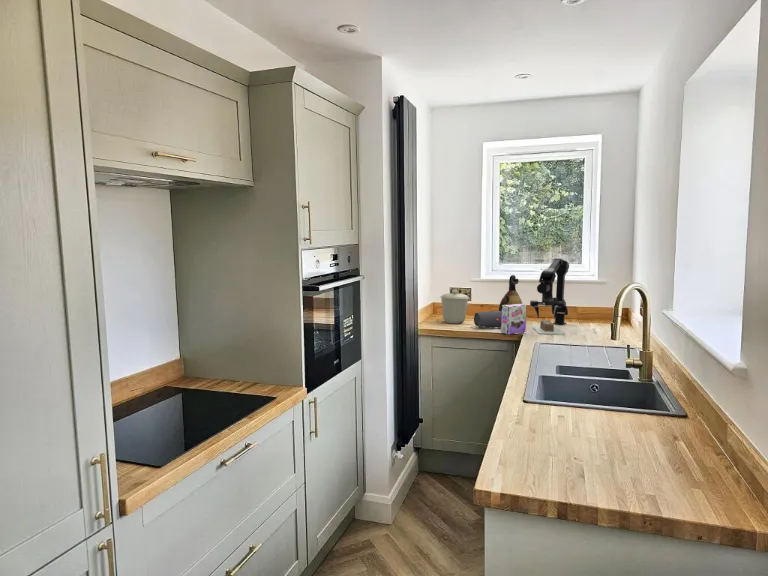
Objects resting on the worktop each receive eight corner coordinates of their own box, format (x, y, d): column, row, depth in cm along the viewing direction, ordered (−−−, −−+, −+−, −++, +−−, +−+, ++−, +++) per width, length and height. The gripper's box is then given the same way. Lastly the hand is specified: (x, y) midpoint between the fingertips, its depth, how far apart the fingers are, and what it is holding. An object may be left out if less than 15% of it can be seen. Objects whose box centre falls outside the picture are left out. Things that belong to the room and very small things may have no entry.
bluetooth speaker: (479, 329, 312) (480, 313, 311) (473, 326, 321) (473, 310, 320) (514, 328, 319) (514, 311, 318) (506, 325, 328) (506, 309, 326)
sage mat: (532, 327, 322) (532, 325, 322) (555, 327, 321) (555, 326, 321) (538, 334, 300) (538, 332, 300) (564, 334, 299) (564, 333, 299)
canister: (472, 321, 338) (473, 289, 336) (461, 326, 323) (462, 292, 321) (447, 319, 348) (448, 287, 346) (434, 322, 333) (435, 289, 331)
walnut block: (540, 319, 317) (544, 323, 304) (549, 320, 316) (553, 324, 303) (540, 327, 317) (544, 331, 304) (548, 327, 317) (553, 331, 304)
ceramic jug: (525, 323, 335) (527, 276, 331) (501, 323, 335) (502, 276, 331) (519, 318, 352) (520, 274, 348) (495, 318, 352) (497, 273, 348)
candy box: (507, 335, 297) (508, 306, 295) (500, 333, 302) (501, 304, 301) (525, 333, 304) (527, 304, 302) (518, 331, 309) (520, 303, 307)
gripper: (533, 293, 304) (532, 319, 306) (566, 293, 302) (565, 320, 304) (530, 291, 315) (529, 316, 317) (562, 291, 313) (561, 317, 315)
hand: (546, 318), depth 313 cm, fingers open, 9 cm apart
